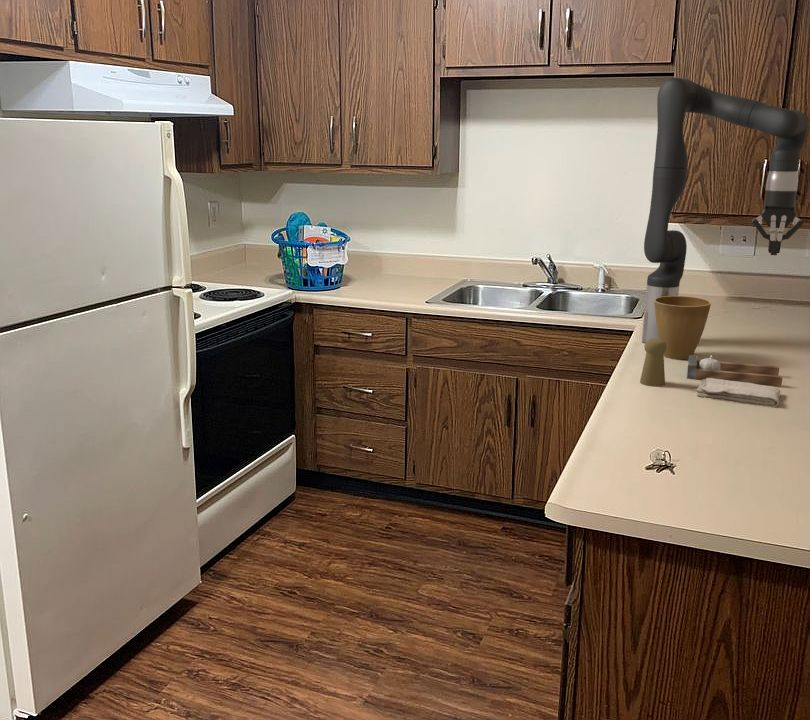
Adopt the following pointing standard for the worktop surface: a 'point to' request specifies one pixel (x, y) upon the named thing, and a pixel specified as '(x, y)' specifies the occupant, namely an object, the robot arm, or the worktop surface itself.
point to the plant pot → (681, 323)
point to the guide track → (736, 372)
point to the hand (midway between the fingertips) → (773, 254)
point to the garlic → (709, 364)
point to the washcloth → (739, 392)
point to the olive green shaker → (654, 363)
